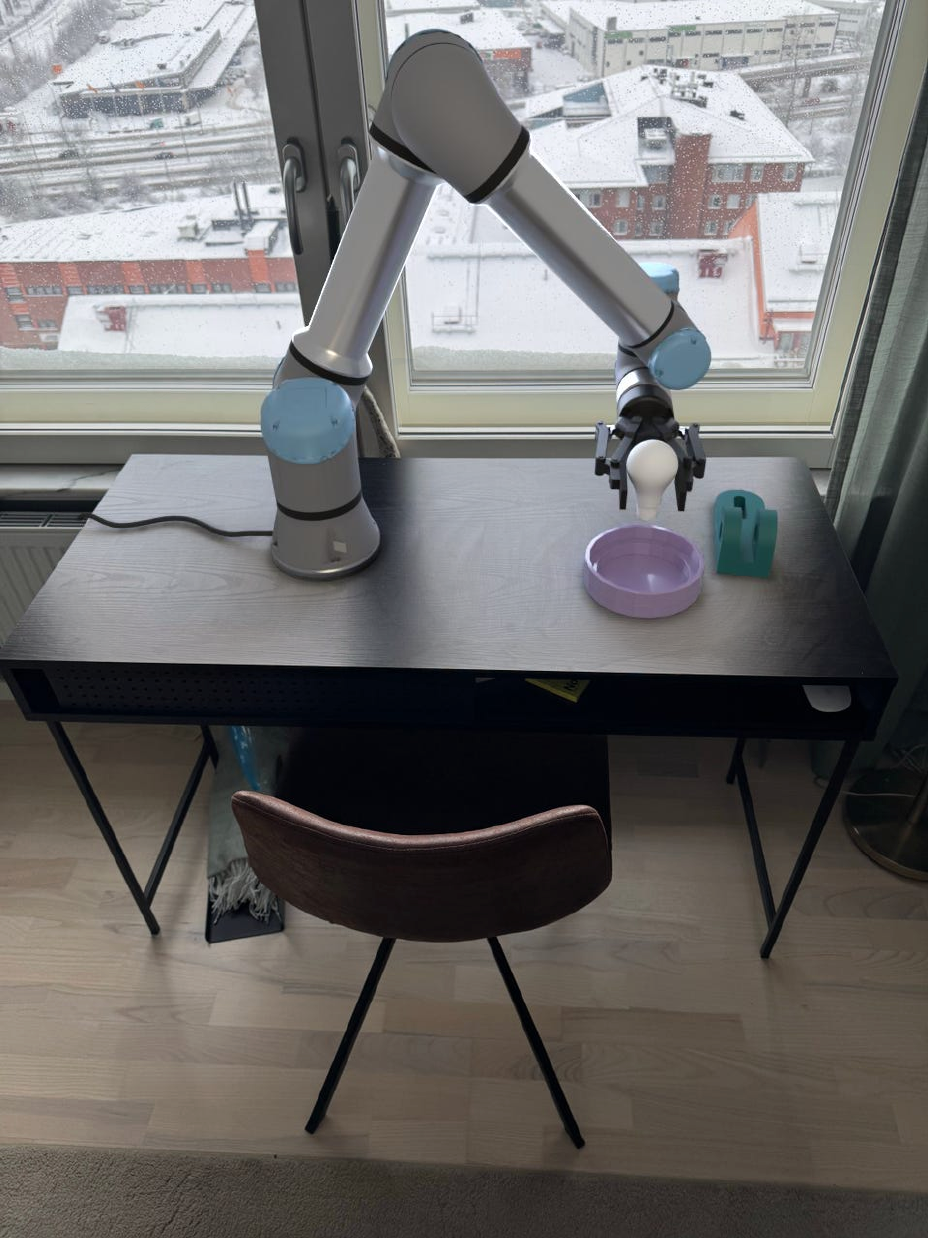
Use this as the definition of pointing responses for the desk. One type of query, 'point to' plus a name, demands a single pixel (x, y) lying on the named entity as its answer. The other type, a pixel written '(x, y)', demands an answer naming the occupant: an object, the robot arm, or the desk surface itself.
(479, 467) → the desk surface
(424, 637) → the desk surface
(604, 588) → the bowl
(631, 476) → the lightbulb
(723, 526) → the bracket
